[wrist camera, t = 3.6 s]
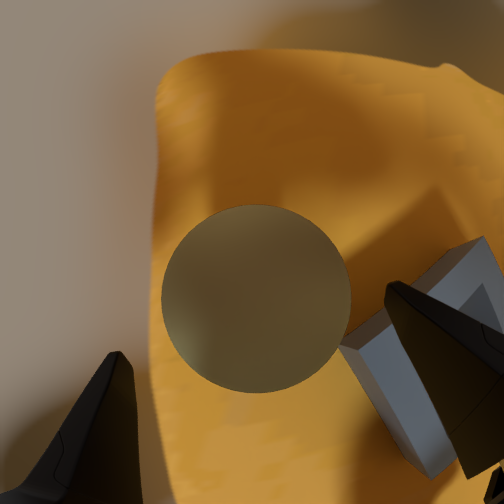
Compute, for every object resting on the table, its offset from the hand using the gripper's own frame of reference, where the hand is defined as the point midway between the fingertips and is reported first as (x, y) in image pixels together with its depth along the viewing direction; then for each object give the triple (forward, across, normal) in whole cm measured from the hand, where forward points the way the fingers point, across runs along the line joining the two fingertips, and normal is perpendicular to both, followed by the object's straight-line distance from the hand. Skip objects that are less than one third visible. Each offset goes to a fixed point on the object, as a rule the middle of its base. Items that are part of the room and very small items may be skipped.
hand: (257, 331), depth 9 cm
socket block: (+2, -11, +10) cm, 15 cm away
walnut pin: (+6, 0, +5) cm, 8 cm away
